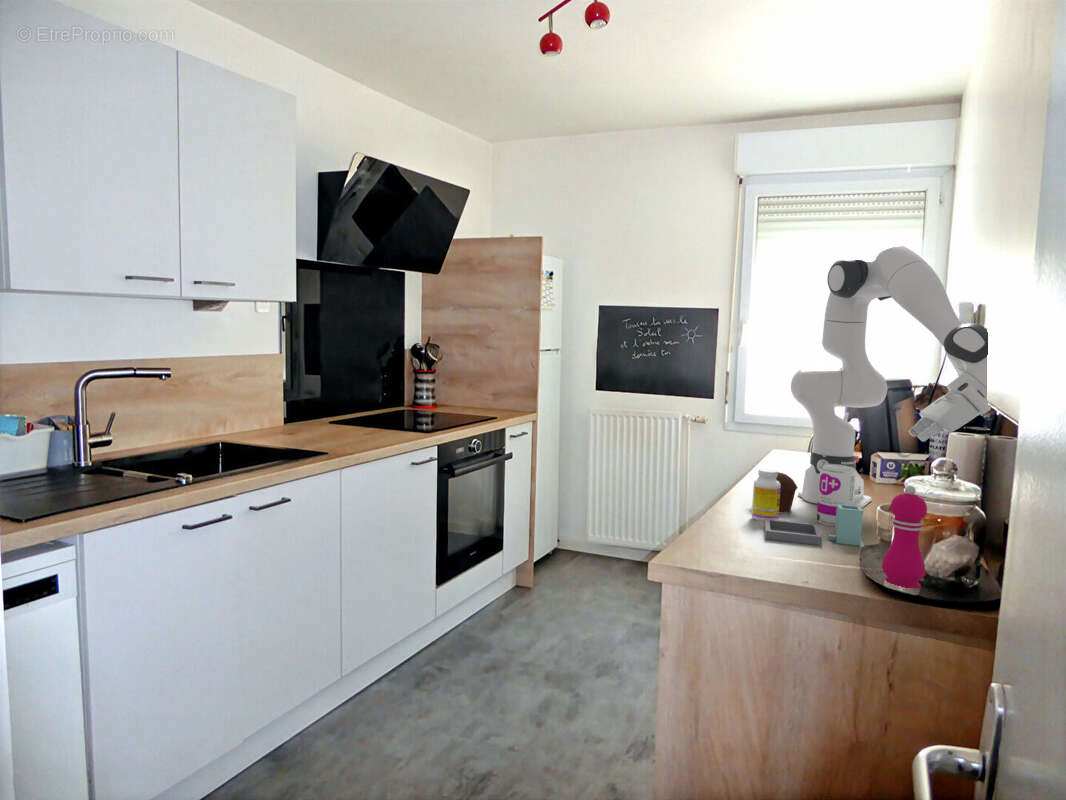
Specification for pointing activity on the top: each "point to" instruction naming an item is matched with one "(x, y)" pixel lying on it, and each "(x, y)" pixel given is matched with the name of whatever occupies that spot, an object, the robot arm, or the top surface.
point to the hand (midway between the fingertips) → (915, 436)
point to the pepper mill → (905, 541)
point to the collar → (848, 525)
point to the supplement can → (834, 491)
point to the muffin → (786, 492)
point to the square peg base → (849, 544)
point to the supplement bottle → (766, 496)
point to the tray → (792, 532)
